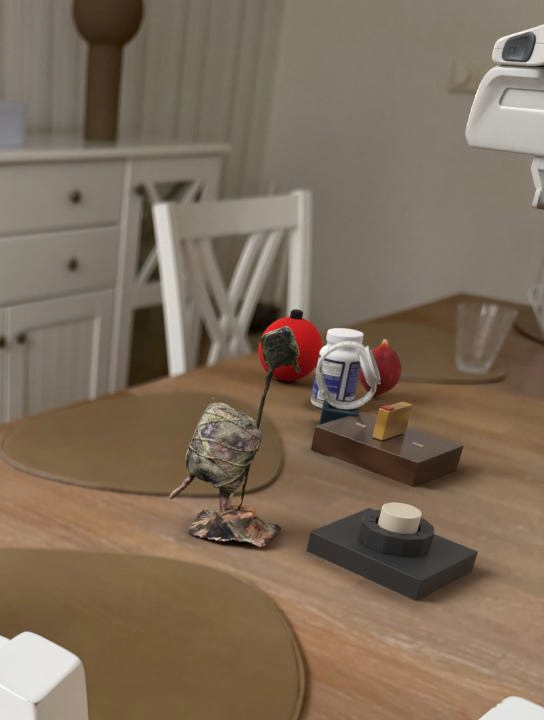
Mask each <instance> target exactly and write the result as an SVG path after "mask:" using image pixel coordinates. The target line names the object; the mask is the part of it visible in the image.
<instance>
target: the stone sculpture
mask: <svg viewBox="0 0 544 720" xmlns="http://www.w3.org/2000/svg"><path fill="white" fill-rule="evenodd" d="M262 335H263V334H262ZM259 343H261V347H262V355H263V357H264V362H265V365H266V366H269V370H268V373H267V372H266V373H267V374H266V376H265V384H264V389H263V393H262V395H261V399H260V403H259V406H258V410H257V411H258V413H257V419H256V418H255V417H253V416H250V415H249V414H247V413H244V412H241V411H239V410H238V409H235V408H233V407H231V406H229V405H228V404H227V403H223V402H211V403H209V404H208V405H207V406H206V408H205V410H204V412H203V414H202V415H201V418H200V419H199V421H198V422H197V425H196V426H195V429H194V433H193V435H192V437H191V439H190V441H189V444H188V448H187V450H186V453H185V459H184V460H185V461H184V462H185V468H186V469H187V470H188V471H189V474H188V475H187V476H186V477H185V478H184V480H182V481H181V483H179V486H178V487H177V488H176V489H174V490H173V491H172V492H171V493H170V495H169V496H168V499H170V500H174V498H175V497H177V496H178V495H180V493H181V492H183V491H184V490H185V489H186V488H187V487H188V486H189V485H190V484H191V483H192V482H194V480H195V478H197V479H199V480H200V481H203V482H205V483H208V484H210V485H211V486H212V487H213V488H216V489H218V490H219V493H218V496H219V509H216V510H215V509H214V508H212V509H203V508H202V511H200V512H197V515H196V516H195V517H196V518H195V519H194V522H193V523H191V524H190V525H191V526H190V527H189V528H186V532H187V533H188V534H191V536H194V537H195V536H196V537H197V536H199V538H204V539H208V540H215V541H219V542H221V541H222V542H226V541H227V542H228V541H232V540H235V541H237V542H247V543H251V544H252V545H255V546H257V547H258V548H261V547H264V546H266V545H267V546H268V544H267V543H269V542H271V540H270V539H271V538H274V537H276V535H275V534H278V531H283V528H282V526H280V525H279V524H278V523H276V524H275V523H273V522H266V521H265V520H262V518H260V517H259V516H258V515H257V508H256V507H253V506H250V505H243V502H244V498H245V493H246V487H247V483H248V479H249V475H250V468H251V466H252V463H253V462H254V461H255V456H256V454H257V452H258V451H259V449H260V446H261V442H262V440H263V437H264V435H263V427H262V426H261V421H262V417H263V412H264V407H265V404H266V403H265V402H266V398H267V393H268V391H269V390H270V386H271V383H272V379H273V378H274V377H273V372H274V370H275V369H277V368H279V367H280V366H286V367H288V366H289V365H291V366H292V367H294V369H295V371H296V372H297V373H300V372H301V370H300V368H299V365H298V363H297V359H298V357H299V350H298V348H299V347H298V345H297V343H296V340H295V337H294V334H293V332H292V330H291V328H289V327H288V326H284V327H282V328H280V329H277V330H274V331H270V332H268V333H267V334H264V335H263V336H261V338H260V340H259ZM210 399H211V400H215V399H216V397H210ZM240 486H242V487H241V494H240V495H241V497H240V498H241V499H240V501H241V502H240V504H232V501H233V498H234V494H235V491H236V490H238V489H239V488H240Z"/></svg>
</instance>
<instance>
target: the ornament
mask: <svg viewBox="0 0 544 720" xmlns="http://www.w3.org/2000/svg"><path fill="white" fill-rule="evenodd" d="M303 316H304V312H303V310H302V309H297V308H294V309H291V311H290V314H289V316H285V317H281V318H278V319H277V320H275V321H274V322H272V323H271V324H270V325H269V326H268V327H267V328H266V329H265V330H264V332H263V333H262V336H263V335H264V334H267V333H268V332H270V331H274V330H277V329H280V328H282V327H284V326H288V327H289V328H291V330H292V332H293V334H294V337H295V340H296V343H297V345H298V347H299V348H298V350H299V357H298V359H297V363H298V365H299V368H300V370H301V372H300V373H297V372H296V371H295V369H294V367H292V366H291V365H289V366H288V367H286V366H280V367H279V368H277V369H275V370H274V372H273V377H272V378H274V379H275V380H279V381H282V382H294V381H298V380H302V379H304V378H305V377H307V376H308V375H310V374H311V373H312V372H313V371H314V370H315V369H316V368H317V363H318V358H319V353H320V350H321V349H322V348H323V341H322V337H321V333H320V332H319V330H318V328H317V327H316V325H314V324H313V323H312V322H311V321H309V319H306V318H304V317H303ZM262 336H261V337H262ZM258 358H259V362H260V364H261V366H262V368H263V369H264V371H265V372H266V373H268V370H269V366H266V365H265V362H264V357H263V355H262V347H261V343H260V342H259V344H258Z"/></svg>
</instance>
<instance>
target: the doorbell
mask: <svg viewBox="0 0 544 720" xmlns="http://www.w3.org/2000/svg"><path fill="white" fill-rule="evenodd" d="M380 513H381V509H373V508H371V507H368V508H364V509H362V510H360V511H357V512H355V513H353V514H350V515H348V516H345V517H343V518H341V519H338V520H335V521H333V522H331V523H328V524H325V525H323V526H321V527H318V528H316V529H313V530H311V531H310V532H309V537H308V542H307V547H306V552H307V553H310V554H312V555H313V556H316V557H318V558H320V559H323V560H324V561H327V562H329V563H331V564H334V565H336V566H338V567H340V568H342V569H345V570H346V571H349V572H351V573H353V574H356V575H358V576H360V577H362V578H365V579H366V580H369V581H371V582H373V583H375V584H376V585H377V584H378V585H379V586H382V587H384V588H386V589H388V590H390V591H392V592H394V593H397V594H400V595H401V596H404V597H406V598H408V599H410V600H412V601H415V602H417V601H419V600H421V599H423V598H425V597H426V596H428V595H431V594H433V593H434V592H436V591H438V590H440V589H442V588H444V587H445V586H447V585H449V584H451V583H453V582H455V581H458V579H460V578H462V577H464V576H466V575H468V574H470V573H471V572H473V570H474V566H475V563H476V560H477V557H478V554H479V551H477V550H475V549H472V548H470V547H468V546H465V545H463V544H462V543H458V542H455V541H453V540H450V539H448V538H445V537H443V536H441V535H438V534H435V526H434V525H432V523H430V522H429V521H428V520H427V519H425V518H424V517H421V520H420V523H419V527H418V530H417V532H416V533H415V534H401V533H396V532H391V531H389V530H386V529H384V528H381V527H380V526H379V525H378V521H379V517H380Z"/></svg>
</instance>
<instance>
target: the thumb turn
mask: <svg viewBox="0 0 544 720" xmlns="http://www.w3.org/2000/svg"><path fill="white" fill-rule="evenodd" d="M412 408H413V404H412V403H409V402H407V401H400V402H397V403H392V404H389V405H388V404H385V405H381V407H379V408H378V412H377V415H376V416H377V419H376V424H375V428H374V432H373V436H372V437H374V438H377V439H379V440H385V439H388V438H391V437H394V436H397V435H400V434H403V433H405V432H406V428H407V427H408V423H409V421H410V416H411V413H412Z"/></svg>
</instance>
